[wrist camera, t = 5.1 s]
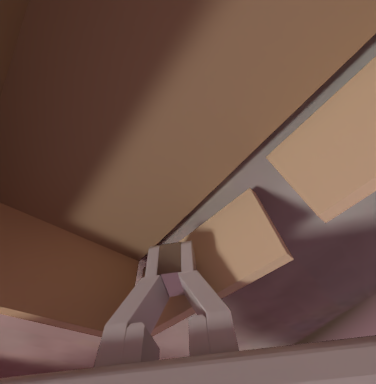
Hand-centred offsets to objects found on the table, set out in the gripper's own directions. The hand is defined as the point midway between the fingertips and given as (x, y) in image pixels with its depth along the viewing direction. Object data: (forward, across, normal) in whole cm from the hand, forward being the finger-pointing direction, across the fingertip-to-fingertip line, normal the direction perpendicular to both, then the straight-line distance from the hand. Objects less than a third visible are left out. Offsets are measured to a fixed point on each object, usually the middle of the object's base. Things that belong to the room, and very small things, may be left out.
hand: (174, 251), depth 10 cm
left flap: (+3, +3, +4) cm, 5 cm away
